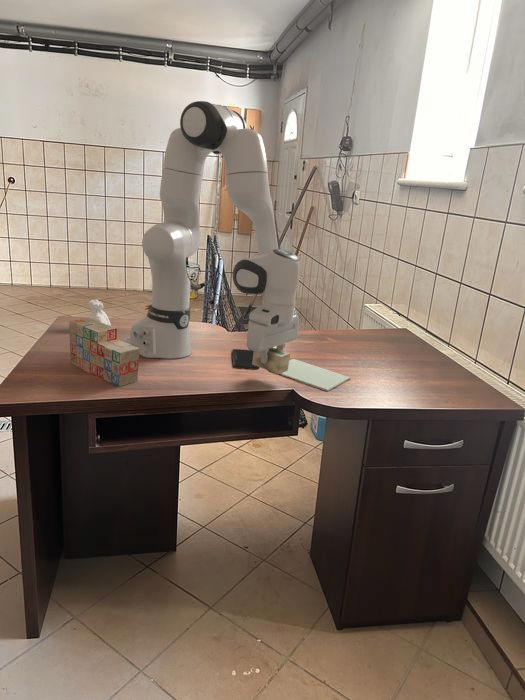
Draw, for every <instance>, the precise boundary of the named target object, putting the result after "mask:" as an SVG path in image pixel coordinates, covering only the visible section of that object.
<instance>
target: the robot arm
mask: <svg viewBox="0 0 525 700" xmlns="http://www.w3.org/2000/svg"><path fill="white" fill-rule="evenodd" d="M265 149H266V148H265V145H264V141H263V137H262V135H261V134H260V133H259V132H258V131H256V130H255V129H251V128H248V125H247V122H246V120H245V119H244V117H243V116H242V115H241V114H240V113H238V112H237V111H235V110H233V109H230V108H229V107H226V106H224V105H222V104H215V103H212V102H210V101H207V100H206V101H205V100H200V101H199V100H198V101H197V100H196V101H194V102H191V103H189V104H188V105H187V106H185V107H184V109H183V111H182V112H181V115H180V121H179V127H178V128H176V129H173V131H172V132H171V133H170V135H169V137H168V140H167V145H166V149H165V152H164V158H163V162H162V169H161V171H162V172H161V180H160V187H159V199H160V201H161V203H162V205H161V206H162V209H163V211H162V212H163V222H159V223H156V224H154V225H153V226H151V227H150V228H148V229H147V230H146V232H144V234H143V236H142V238H141V239H142V241H141V247H142V251H143V253H144V255H145V256H146V257H147V259H148V263H149V268H150V273H151V285H152V286H151V288H152V289H151V304H149V305H144V307H145V308H144V310H145V311H146V310H147V314H146V315H145V316H144V317H142V318H141V319H140V320H138V321H136V322H135V323H133V324H132V325H131V327H130V332H129V336H128V337H125V338H123V339H122V340H121V341H123V342H125V343H128V344H130V345H132V346H135V347H137V348H139V356H142V357H144V358H147V359H150V358H151V359H152V358H158V359H159V358H160V359H180V358H185V357H189V356H190V355H191V354H192V352H193V351H192V346H191V345H192V344H191V339H190V338H191V337H190V319H191V307H190V299H191V298H190V297H191V280H190V279H189V277H188V271H187V263H186V261H187V260H186V259H187V258H190V257H191V256H193V255H194V254H195V253H196V252H197V251H198V250H199V249H200V247H201V245H202V241H203V235H202V232H201V230H200V229H201V228H200V225H201V224H200V198H201V193H202V191H201V190H202V184H203V178H204V171H205V170H204V169H205V163H206V159H207V157H208V156H209V155H210V154H211V153H213V154H214V155H220V154H221V156H222V158H223V160H224V161H223V162H224V172H225V173H224V174H225V187H226V191H227V196H228V199H229V201H230V203H231V204H232V206H234V207H235V208H236V209H238V210H239V211H241V212H242V213H244V215H246V216H247V217H248V218H249V219H250V221H251V222H252V224H253V226H254V232H255V237H256V245H257V251H258V252H257V253H258V255H257V256H252V257H247V258H244V259H241V260H239V261H237V263H236V264H235V265H234V267H233V270H232V281H233V284H234V286H235V288H236V289H237V290H238V291H239V292H241V293H243V294H247V295H261V296H262V301H261V303H260V304H258V306H257V307H255V309H253V310H252V311H251V312H250V313H249V317H248V318H249V321H250V322H249V325H248V326H247V327H248V328H247V334H246V347H247V350H252V351H254V352H260V354H261V362H262V363H264V364H265V363H268V362H269V356H268V354H267V352H268V351H269V349H270V348H272V347H273V348H275V349H278V350H281V351H284V350H285V347H286V344H287V343H290V342H293V341H296V340H297V338H298V337H299V328H300V317H299V316H298V315H299V312H298V310H297V308H296V293H297V291H298V289H299V281H300V273H301V269H300V268H301V265H300V263H301V262H300V259H299V258H298V256H297V255H296V254H294V253H293V252H290V251H288V250H284V249H281V246H280V245H281V244H280V237H279V230H278V223H277V217H276V212H275V207H274V203H273V200H272V196H271V191H270V182H269V169H268V161H267V153H266V150H265Z"/></svg>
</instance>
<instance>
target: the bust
mask: <svg viewBox="0 0 525 700" xmlns="http://www.w3.org/2000/svg"><path fill="white" fill-rule="evenodd" d="M86 307H87V309H88V310H90V311H92V312H91V314H90V315H89V316H88V318H91V319H94V320H95V321H98V322H101V323H104V324H107V325H109V326H112V323H111V321H110V318H109V317H108V314H107V313H106V312H105V311H104V310H103V309H104V304H103V302H102V301H100V300H99V299H91V300H89V301H88V303H87V306H86Z"/></svg>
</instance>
